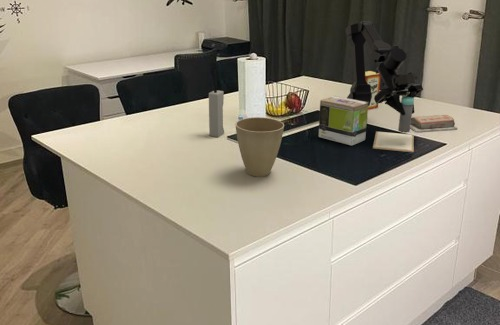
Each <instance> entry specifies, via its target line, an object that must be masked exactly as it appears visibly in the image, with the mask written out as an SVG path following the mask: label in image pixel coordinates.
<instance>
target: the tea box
mask: <svg viewBox="0 0 500 325" xmlns="http://www.w3.org/2000/svg"><path fill="white" fill-rule="evenodd" d="M368 112H369V110H368V102H365V101H359V100H354V99H349V98H347V97H342V96H338V95H337V96H336V95H333V96H329V97H327V98H323V99H320V100H319V118H318V119H319V120H318V137H319V138H322V139H324V140H325V139H326V140H329V141H333V142H336V143H341V144H343V145H349V146H354V145H356V144H359V143H361V142H363V141H365V140H366V134H367V127H368V126H367V123H368Z"/></svg>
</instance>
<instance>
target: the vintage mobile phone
mask: <svg viewBox="0 0 500 325" xmlns="http://www.w3.org/2000/svg"><path fill="white" fill-rule="evenodd" d="M213 72H214V74H213V75H214V78H213V79H214V82H213V84H214V85H213V87H214V88H213V89H214V90H212V91H210V92H208V123H209V124H208V125H209V130H208V131H209V136H210V137H212V138H213V137H214V138H220V137H221V136H223V135H224V134H225V129H224V110H223V109H224V99H225V97H224V96H225V94H224V92H225V91H224V90H219V89H218V90H217V86H218V84H217V70H216V69H214V71H213Z"/></svg>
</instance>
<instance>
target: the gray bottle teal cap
mask: <svg viewBox="0 0 500 325" xmlns="http://www.w3.org/2000/svg"><path fill="white" fill-rule="evenodd" d="M400 102H401V104H402V106H403V109H404V111H405V115H402V114H400V113H399V119H398V128H397V130H398V132H400V133H404V134H407V133H409V132H410V131H411V129H410V125H411V118H412V117H413V116H412V115H413V114H412V109H413V103H414V102H415V97H414V98H412V97H402V96H401V100H400ZM414 104H415V103H414Z"/></svg>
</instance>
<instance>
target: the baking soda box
mask: <svg viewBox="0 0 500 325" xmlns="http://www.w3.org/2000/svg"><path fill="white" fill-rule="evenodd" d="M365 77H366V82H367V83H368V84H370V85H371V93H372V98H371V102H370V105H369V106H368V111H370V110H373V109H378V108H379V103H378V104H376V102H375V100H374V97H375V95H376V94H377V93H378V92H379V91H380V90H381V79H382V78H381V76H380V74H379V73H378V74H376V71H373V70H368V71H365Z"/></svg>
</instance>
